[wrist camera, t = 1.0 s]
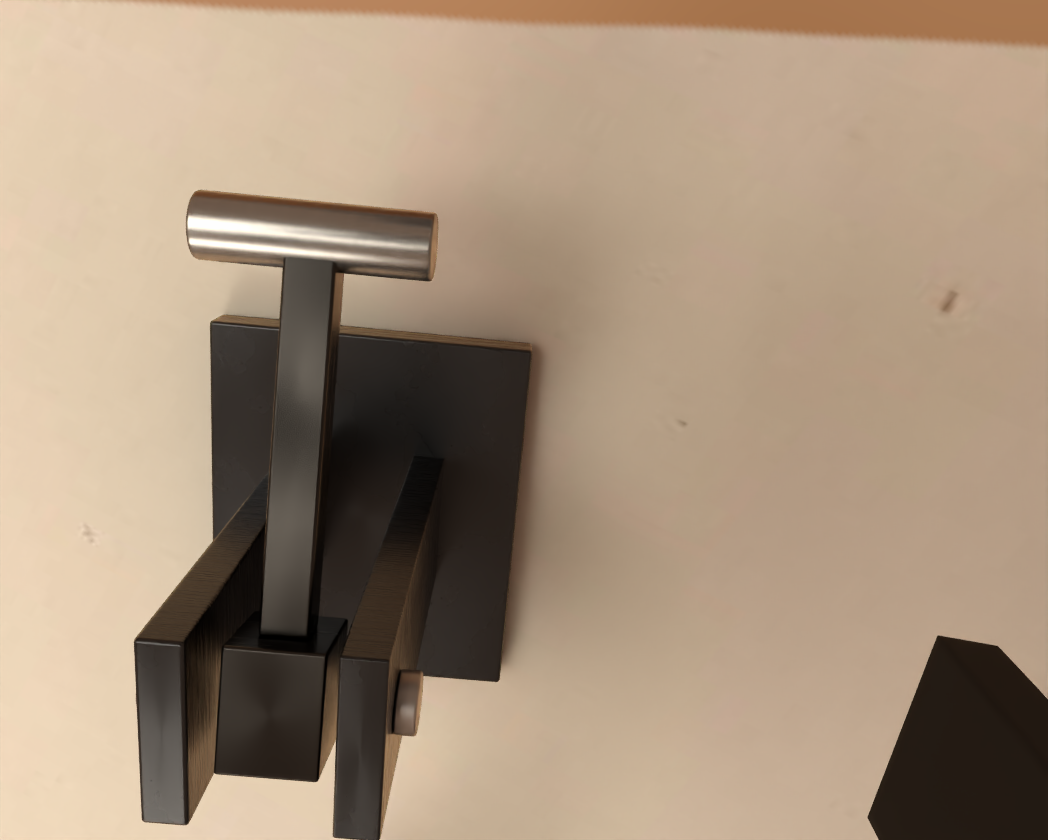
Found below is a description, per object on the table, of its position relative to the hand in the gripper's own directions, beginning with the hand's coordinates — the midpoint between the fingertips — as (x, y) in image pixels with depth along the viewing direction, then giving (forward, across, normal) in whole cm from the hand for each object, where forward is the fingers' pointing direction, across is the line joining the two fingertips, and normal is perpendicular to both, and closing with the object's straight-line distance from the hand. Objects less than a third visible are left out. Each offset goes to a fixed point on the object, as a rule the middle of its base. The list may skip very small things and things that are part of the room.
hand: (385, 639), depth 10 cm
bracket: (+18, -2, -7) cm, 20 cm away
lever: (+10, -3, -2) cm, 10 cm away
